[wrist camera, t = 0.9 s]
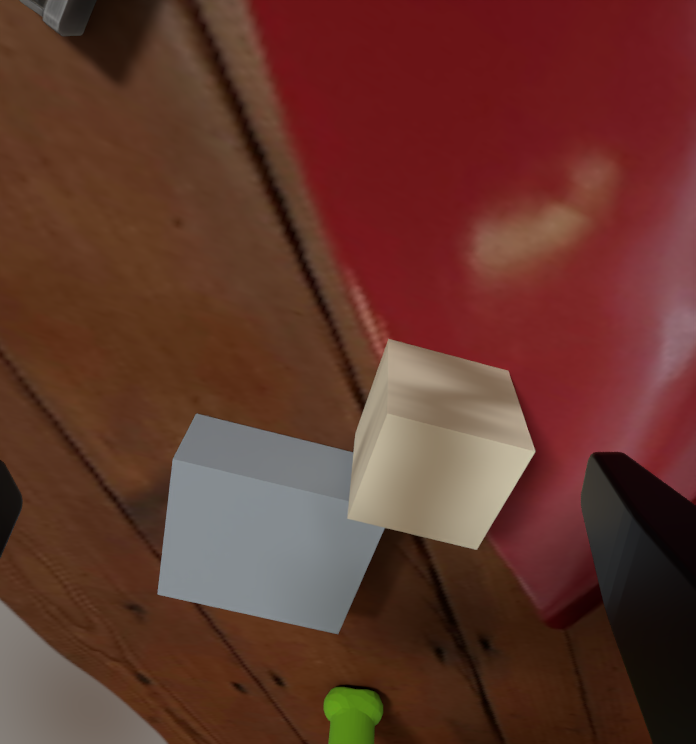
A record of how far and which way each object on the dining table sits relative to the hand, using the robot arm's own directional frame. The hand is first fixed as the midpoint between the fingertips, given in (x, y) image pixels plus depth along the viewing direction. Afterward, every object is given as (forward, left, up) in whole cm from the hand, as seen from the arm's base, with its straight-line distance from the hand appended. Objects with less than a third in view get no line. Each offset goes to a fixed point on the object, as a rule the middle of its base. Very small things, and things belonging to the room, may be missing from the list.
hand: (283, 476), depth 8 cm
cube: (-5, +6, -13) cm, 15 cm away
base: (0, +14, -13) cm, 19 cm away
